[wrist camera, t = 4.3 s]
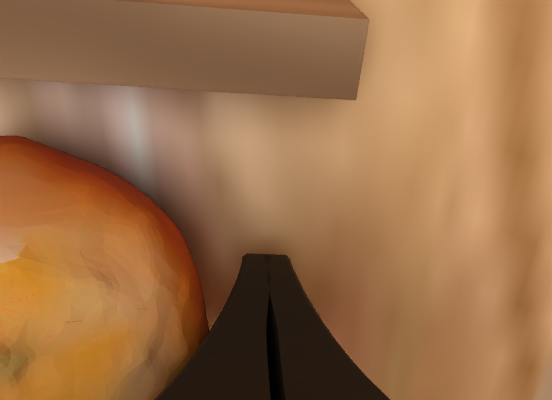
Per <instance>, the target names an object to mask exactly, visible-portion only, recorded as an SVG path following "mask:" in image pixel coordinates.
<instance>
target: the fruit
mask: <svg viewBox="0 0 552 400" xmlns="http://www.w3.org/2000/svg"><path fill="white" fill-rule="evenodd" d="M209 332H210V330H209V326H208V322H207V316H206V309H205V302H204V296H203V292H202V287H201V283H200V280H199V277H198V274H197V271H196V268H195V266H194V263H193V260H192V258H191V255H190V252H189V249H188V247H187V245H186V242H185V240H184V238H183V236H182V235H181V233H180V231H179V230H178V228H177V227H176V226H175V224H174V223H173V222H172V221H171V219H170V218H169V217H168V216H167V215H166V214H165V213H164V212H163V211H162V210H161V209H160V208H159V207H158V206H157V205H155V204H154V203H153V202H152V201H151V200H150V199H149V198H148V197H147V196H146V195H145V194H144V193H142V192H141V191H140V190H138V189H137V188H135V187H134V186H133V185H131V184H130V183H128V182H126V181H125V180H123V179H121V178H120V177H118V176H116V175H114V174H113V173H111V172H109V171H108V170H106V169H104V168H102V167H99V166H97V165H95V164H92V163H90V162H87V161H84V160H82V159H79V158H76V157H74V156H71V155H69V154H66V153H63V152H61V151H58V150H56V149H53V148H51V147H48V146H45V145H43V144H40V143H38V142H35V141H33V140H30V139H27V138H25V137H20V136H0V400H154V399H155V398H156V397H157V396H158V395H159V394H160V393H161V392H162V391H163V390H164V389H165V388H166V387H167V386H168V385H169V384H170V382H171V381H172V380H173V379H174V378H175V377H176V376H177V374H178V373H179V372H180V371H181V370H182V368H183V367H184V366H185V365H186V363H187V362H188V361H189V360H190V358H191V357H192V356H193V355H194V353H195V352H196V351H197V349H198V348H199V346H200V345H201V344H202V342H203V341H204V339H205V338H206V336H207V335H208V333H209Z"/></svg>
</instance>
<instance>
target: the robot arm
mask: <svg viewBox="0 0 552 400" xmlns="http://www.w3.org/2000/svg"><path fill="white" fill-rule="evenodd" d="M154 400H390V399H389V398H388V397H387V396H386V395H385V394H384V393H383V392H382V391H381V390H380V389H379V388H378V387H377V386H376V385H375V384H374V383H373V382H372V381H371V380H370V379H369V378H368V377H367V376H366V375H365V374H364V373H363V372H362V371H361V370H360V369H359V368H358V367H357V365H356V364H355V363H354V362H353V361H352V360H351V359H350V357H349V356H348V355H347V354H346V353H345V351H344V350H343V349H342V348H341V346H340V345H339V344H338V342H337V341H336V340H335V338H334V337H333V336H332V334H331V333H330V332H329V330H328V329H327V327H326V326H325V324H324V323H323V321H322V320H321V318H320V317H319V315H318V314H317V312H316V310H315V309H314V307H313V305H312V304H311V302H310V300H309V299H308V297H307V295H306V293H305V291H304V290H303V288H302V286H301V284H300V282H299V280H298V278H297V276H296V273H295V271H294V269H293V266H292V264H291V261H290V259H289V258H288V257H287V256H286V255H269V254H246V255H244V256H243V258H242V264H241V268H240V271H239V274H238V277H237V280H236V282H235V285H234V287H233V289H232V291H231V293H230V296H229V298H228V300H227V302H226V304H225V306H224V308H223V310H222V311H221V313H220V315H219V316H218V318H217V320H216V322H215V323H214V325H213V327H212V328H211V330H210V332H209V333H208V335H207V336H206V338H205V339H204V341H203V342H202V344H201V345H200V346H199V348H198V349H197V351H196V352H195V353H194V355H193V356H192V357H191V358H190V360H189V361H188V362H187V363H186V365H185V366H184V367H183V368H182V370H181V371H180V372H179V373H178V374H177V376H176V377H175V378H174V379H173V380H172V381H171V382H170V384H169V385H168V386H167V387H166V388H165V389H164V390H163V391H162V392H161V393H160V394H159V395H158V396H157V397H156V398H155V399H154Z"/></svg>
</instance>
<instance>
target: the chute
mask: <svg viewBox="0 0 552 400" xmlns="http://www.w3.org/2000/svg"><path fill="white" fill-rule="evenodd" d="M368 24H369V19H368V18H367V17H366V16H365V15H364V14H363V13H362V12H361V11H360V10H359V9H358V8H357V7H356V6H355V5H354V4H353V3H352V2H350V1H349V0H0V78H12V79H28V80H44V81H59V82H75V83H91V84H107V85H123V86H138V87H154V88H170V89H186V90H202V91H217V92H233V93H249V94H265V95H281V96H297V97H312V98H328V99H344V100H356V97H357V91H358V84H359V78H360V72H361V66H362V60H363V54H364V48H365V42H366V36H367V30H368Z"/></svg>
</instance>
